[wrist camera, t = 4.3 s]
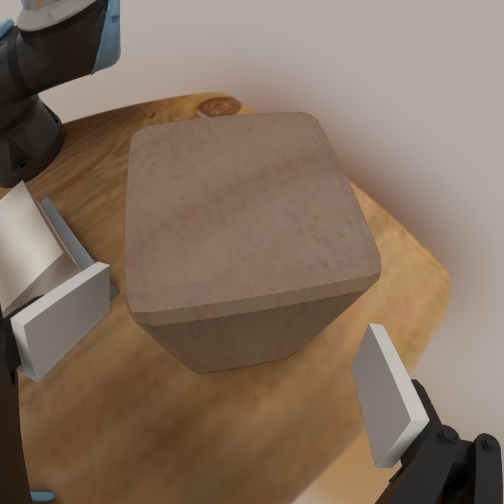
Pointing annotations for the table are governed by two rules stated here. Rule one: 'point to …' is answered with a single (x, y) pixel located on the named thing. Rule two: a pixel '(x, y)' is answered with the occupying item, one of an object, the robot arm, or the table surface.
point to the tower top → (29, 251)
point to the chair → (41, 496)
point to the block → (241, 237)
